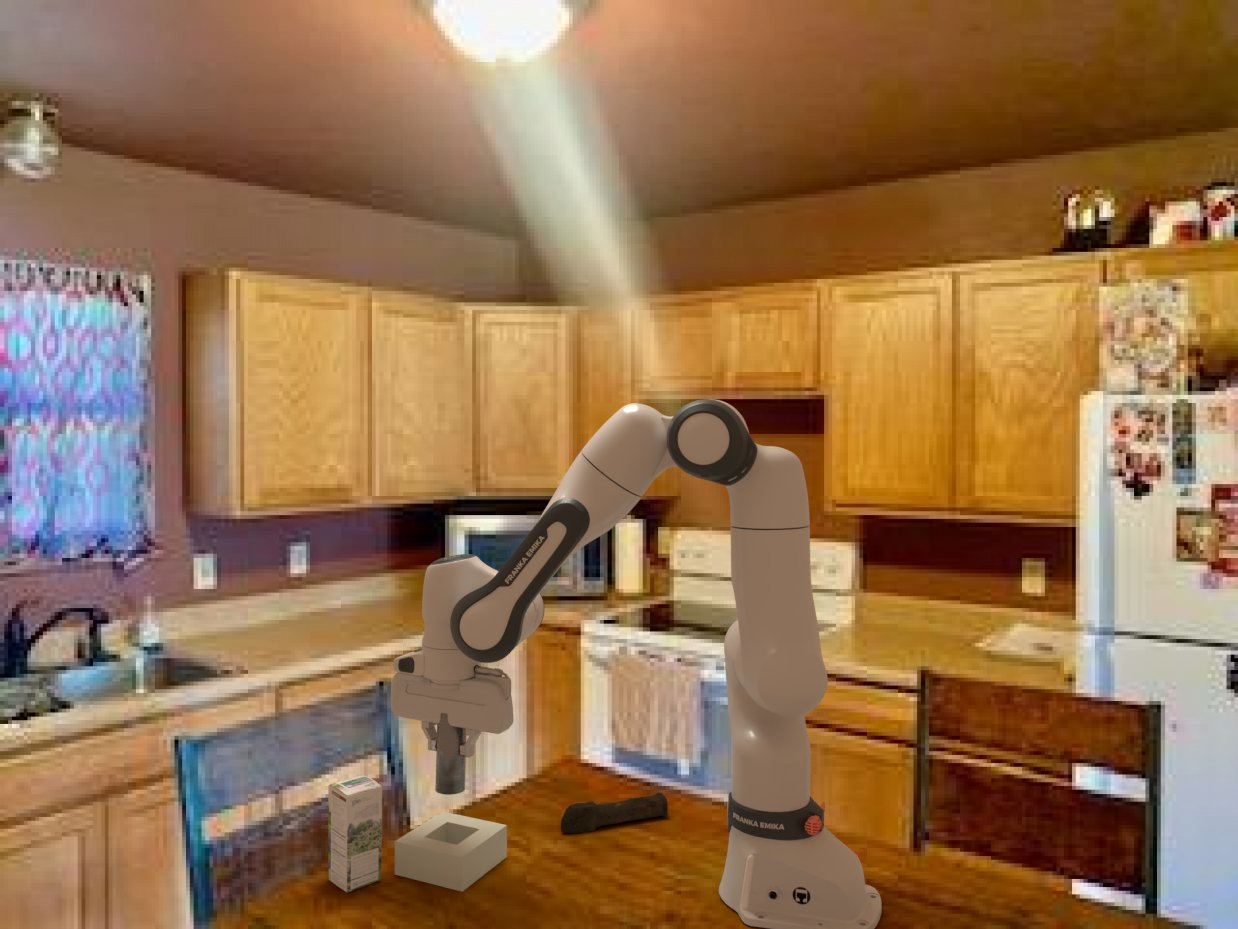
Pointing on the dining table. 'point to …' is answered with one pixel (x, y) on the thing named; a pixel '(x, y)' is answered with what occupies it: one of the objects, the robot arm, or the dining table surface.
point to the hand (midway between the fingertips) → (450, 753)
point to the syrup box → (354, 833)
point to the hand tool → (612, 813)
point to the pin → (449, 758)
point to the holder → (451, 850)
